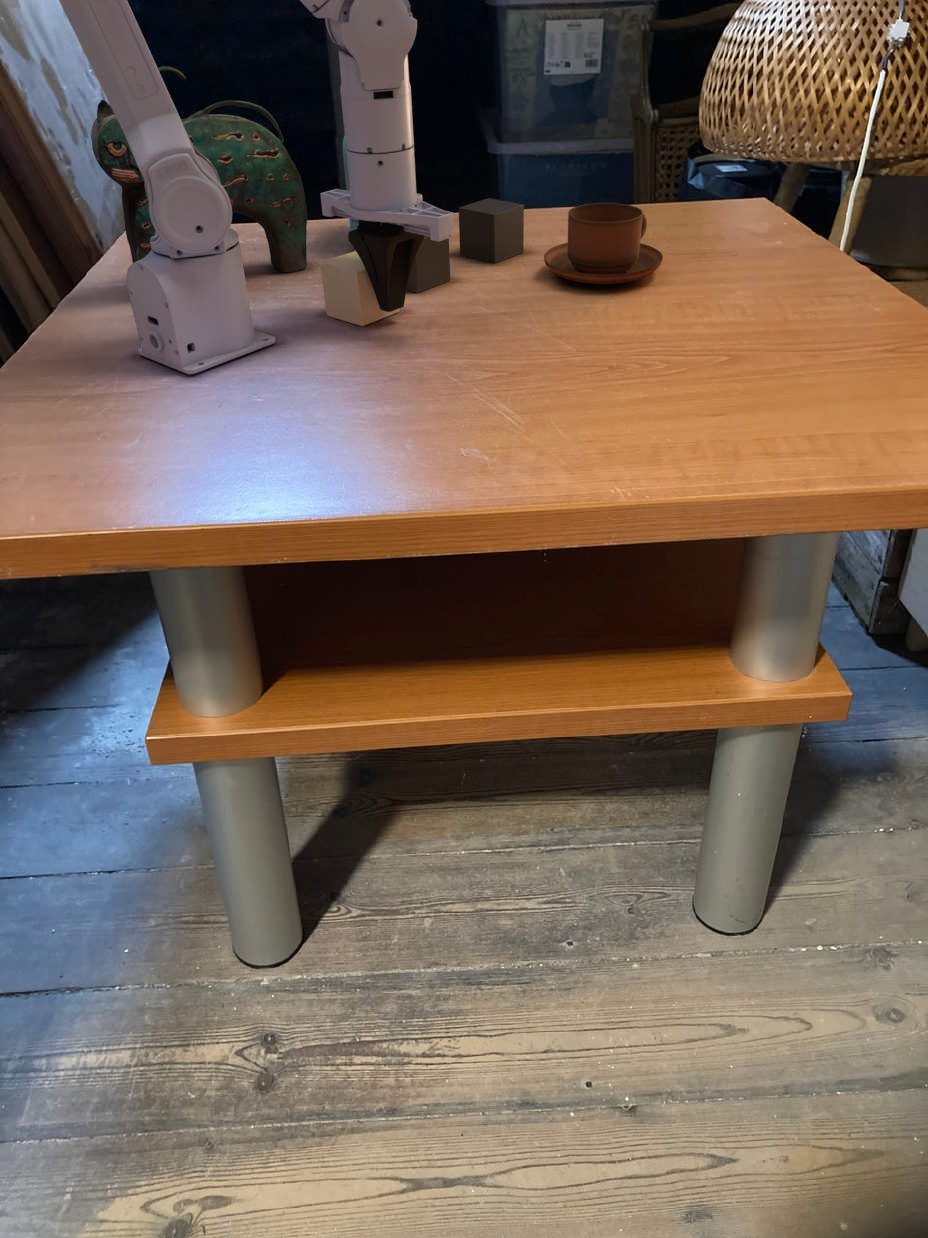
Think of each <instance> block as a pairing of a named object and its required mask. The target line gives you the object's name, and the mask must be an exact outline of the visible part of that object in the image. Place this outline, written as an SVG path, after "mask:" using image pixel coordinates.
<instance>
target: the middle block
mask: <svg viewBox="0 0 928 1238" xmlns="http://www.w3.org/2000/svg"><path fill="white" fill-rule="evenodd" d="M450 255H451V254H450V238H448V239H445V240H442V241H439V242H438V241H433V240H431V237H429V236H425V237H424V239H423V241H422V243H421V245H420V247H419V249H418V251H417V254H416V256H415V259H414V262H413V265H412V268H411V272H410V276H409V280H408V285H407V290H406V291H409V292H413V293H416V294H419V293H420V292H424V291H426V290H429V289H432V288H435V287H437V286H440V285H443V284H444V283H447V282H450V281H451V257H450Z"/></svg>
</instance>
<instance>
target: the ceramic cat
mask: <svg viewBox="0 0 928 1238" xmlns="http://www.w3.org/2000/svg"><path fill="white" fill-rule="evenodd" d="M157 68H158V70H159V72H166V71H167V72H172V73H174V74H175V75H177V76H178V77H179V78H181V80H183V82H184V83H185V82H186V80H187V77H186V76H185V75H184V74H183V72H182V71H180V70H179V69H177V68H175V67H172V66H168V65H162V66H157ZM225 106H235V107H240V108H241V107H242V108H249V109H253V110H256V111H258V112H260V113H261V114H262V115H263V116H265V117H266V118H267V119H268V120H269V121H270V122H271V124H272V125H273V126H274V128H275V130H276V133H277V135H278V136H276V135H275V134H274V133H273V131H272V132H271V130H269V129H267V128H266V127H265V126H263V125H261V124H260V123H258V122H255V121H252V120H249V119H247V118H245V117H243V116H242V117H241V116H238V115H230V114H220V113H218V114H217V113H215V114H214V113H213V114H212V113H211V114H209V113H210V112H211V111H213V110H215V109H217V108H220V107H225ZM180 119H181V121H182V123H183V125H184V127H185V130H186V132H187V134H188V136H189V138H190V140H191V142H192V144H193V145H194V147H195V148H196V149H197V150H198V151H199V152H200V153H201V154H202V155H204V156H205V157H206V158H207V159H208V160H209V161H210V162H211V163H212V165H213V166H214V168H215V169H216V171H217V173H218V176H219V178H220V182H221V185H222V186H223V187H224V189H225V191H226V192H227V195H228V197H229V199H230V203H231V206H232V214H233V213H234V214H239V215H242V216H245V217H248V218H249V219H252V220H253V221H254V222H256V223H258V225H259V226H260V227H261V228H262V229H263V231H264V233H265V238H266V239H267V245H268V250H269V256H270V263H271V266H272V267H273V269H276V270H277V271H278V272H279V273H294V272H299V271H302V270H305V269H306V268H307V266H308V261H307V260H308V258H307V256H308V255H307V253H308V252H307V238H308V237H307V233H308V232H307V229H308V228H307V226H308V208H307V203H306V195H305V190H304V184H303V181H302V178H301V175H300V173H299V170H298V168H297V166H296V165H295V163H294V161H293V159H292V158H291V156H290V154H289V153H288V150H287V149H286V147H285V146H284V144H283V143H284V142H285V140H284V136H283V134H282V131H281V128H280V127H279V125H278V122H277V121H276V119H275V118H274V116H273V115H272V114H271V113H270V112H269V111H268V110H267V109H265V108H264V107H263V106H261V105H259V104H256V103H252V102H249V101H243V100H222V101H218V102H216V103H213V104H210V105H208V106H207V107H205V108H204V109H202V110H199V111H197V112H195V113H193V114H191V115H190V116H188V117H186V118H180ZM90 131H91V132H90V138H91V148H92V152H93V156H94V158H95V160H96V162H97V164H98V166H99V167H100V168H101V170H102V171H103V172H104V173H105V174H106V176H108V177H109V179H111V180H112V181H114V182H115V183H116V184H118V185H119V186H120V187H121V203H122V204H121V205H122V212H123V219H124V230H125V235H126V240H127V243H128V245H129V251H130V256H131V260H132V264H133V263H134V262H136V261H139V260H141V259H143V258H144V257H146V256H147V255H148V254H149V252H150V251H151V250H152V249H151V244H150V242H151V241H150V239H151V237H152V236H155V232H156V230H155V228H154V226H153V224H152V221H151V218H150V213H149V201H148V198H147V195H146V191H145V180H144V178H143V176H142V174H141V172H140V170H139V168H138V165H137V163H136V161H135V158H134V156H133V153H132V151H131V148H130V146H129V144H128V141H127V139H126V137H125V134H124V132H123V130H122V128H121V126H120V124H119V122H118V120H117V118H116V116H115V114H114V112H113V110H112V108H111V106H110V104H109V102H108V101H106V100H105V99H103V98H102V99H101V100H100V101H99V103H98V104H97V109H96V118H95V119H94V121H93V123H92V125H91V130H90Z"/></svg>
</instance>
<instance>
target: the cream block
mask: <svg viewBox="0 0 928 1238" xmlns="http://www.w3.org/2000/svg"><path fill="white" fill-rule="evenodd" d="M320 272H321V273H320V274H321V282H322V288H323V290H322V291H323V295H324V296H323V297H324V305H325V314H326V316H327V317H330V318H334V319H337V320H340V321H344V322H347V323H350V324H353V325H356V326H358V327H359V326H360V327H365V326H367V325H369V324H372V323H375V322H377V321H380V320H382V319H385V318H387V317H390V316H392V315H394V314H395V315H396V314H397V313H399V312H400V311H401V308H399V309H397V310H394V311H391V312H386V311H383V310H380V307H379V304H378V301H377V298H376V295H375V292H374V289H373V286H372V284H371V281H370V278H369V276H368V273H367V271H366V269H365V267H364V264H363V262H362V261H361V259H360V257H359V255H358V254H357V252H356V250H354V251H351V252H347V253H344V254H342V255H338V256H336V257H333V258H330V259H327V260H323V261H321V262H320Z"/></svg>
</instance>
